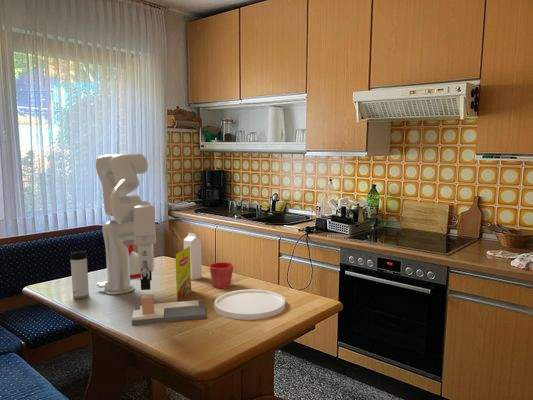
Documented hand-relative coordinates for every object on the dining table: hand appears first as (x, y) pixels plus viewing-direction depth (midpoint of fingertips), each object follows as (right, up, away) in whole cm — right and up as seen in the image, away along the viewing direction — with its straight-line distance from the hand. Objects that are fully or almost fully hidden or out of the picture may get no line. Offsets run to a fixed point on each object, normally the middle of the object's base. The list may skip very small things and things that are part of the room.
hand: (146, 284), depth 155 cm
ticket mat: (+7, -12, +6) cm, 15 cm away
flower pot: (+23, -8, +39) cm, 46 cm away
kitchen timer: (-24, -7, +59) cm, 64 cm away
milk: (+8, -7, +52) cm, 53 cm away
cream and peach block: (+1, -11, +1) cm, 11 cm away
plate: (+37, -12, +13) cm, 41 cm away
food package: (+9, -10, +26) cm, 29 cm away
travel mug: (-35, -11, +26) cm, 45 cm away
